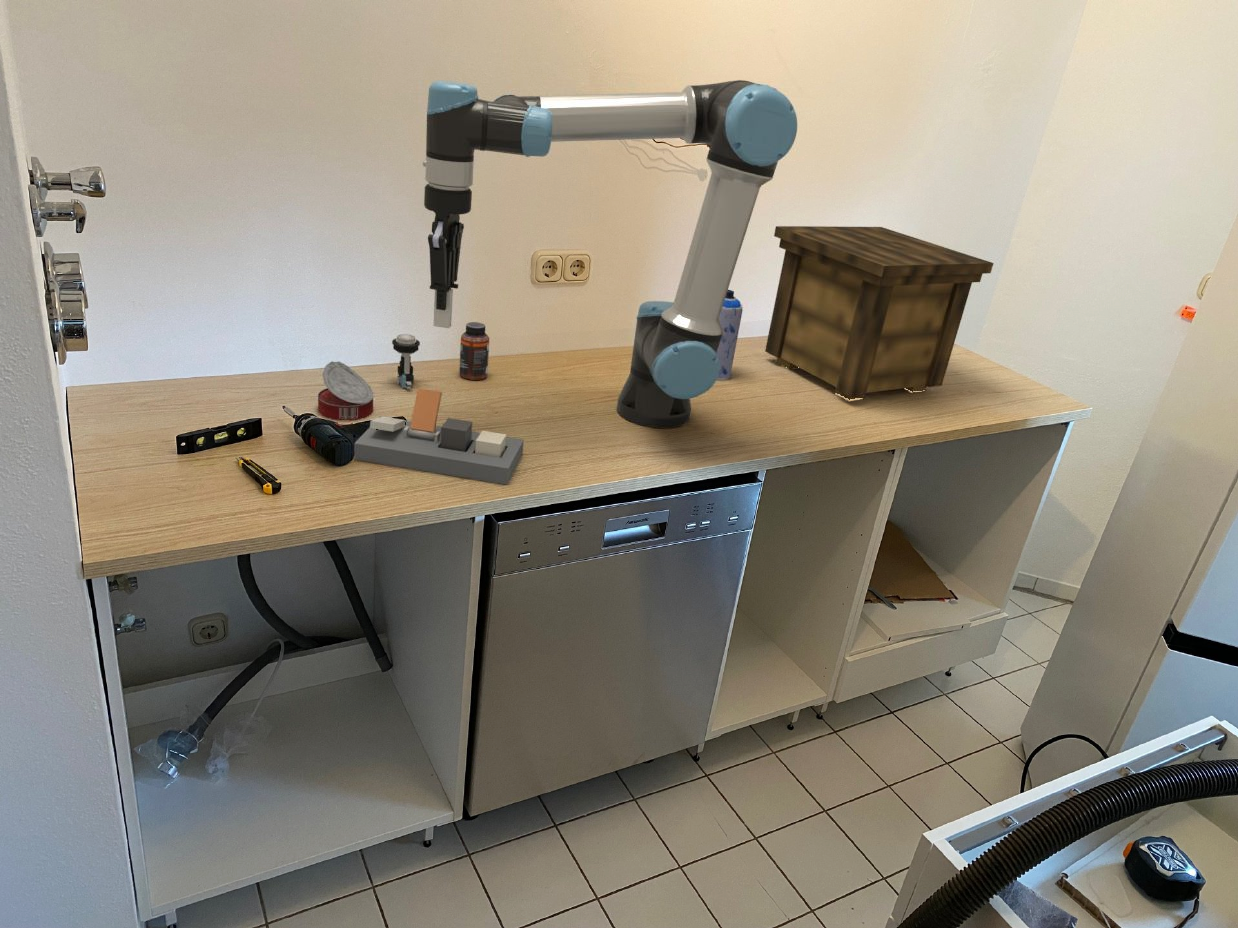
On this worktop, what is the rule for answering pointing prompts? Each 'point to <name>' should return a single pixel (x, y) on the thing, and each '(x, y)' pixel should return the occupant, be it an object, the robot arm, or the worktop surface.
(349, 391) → the canned food
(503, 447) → the ivory button
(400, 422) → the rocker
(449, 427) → the dark gray button
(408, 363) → the push button
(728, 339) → the aerosol can
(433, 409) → the paddle lever
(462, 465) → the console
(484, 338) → the supplement bottle
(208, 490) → the worktop surface
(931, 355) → the crate
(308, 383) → the worktop surface
